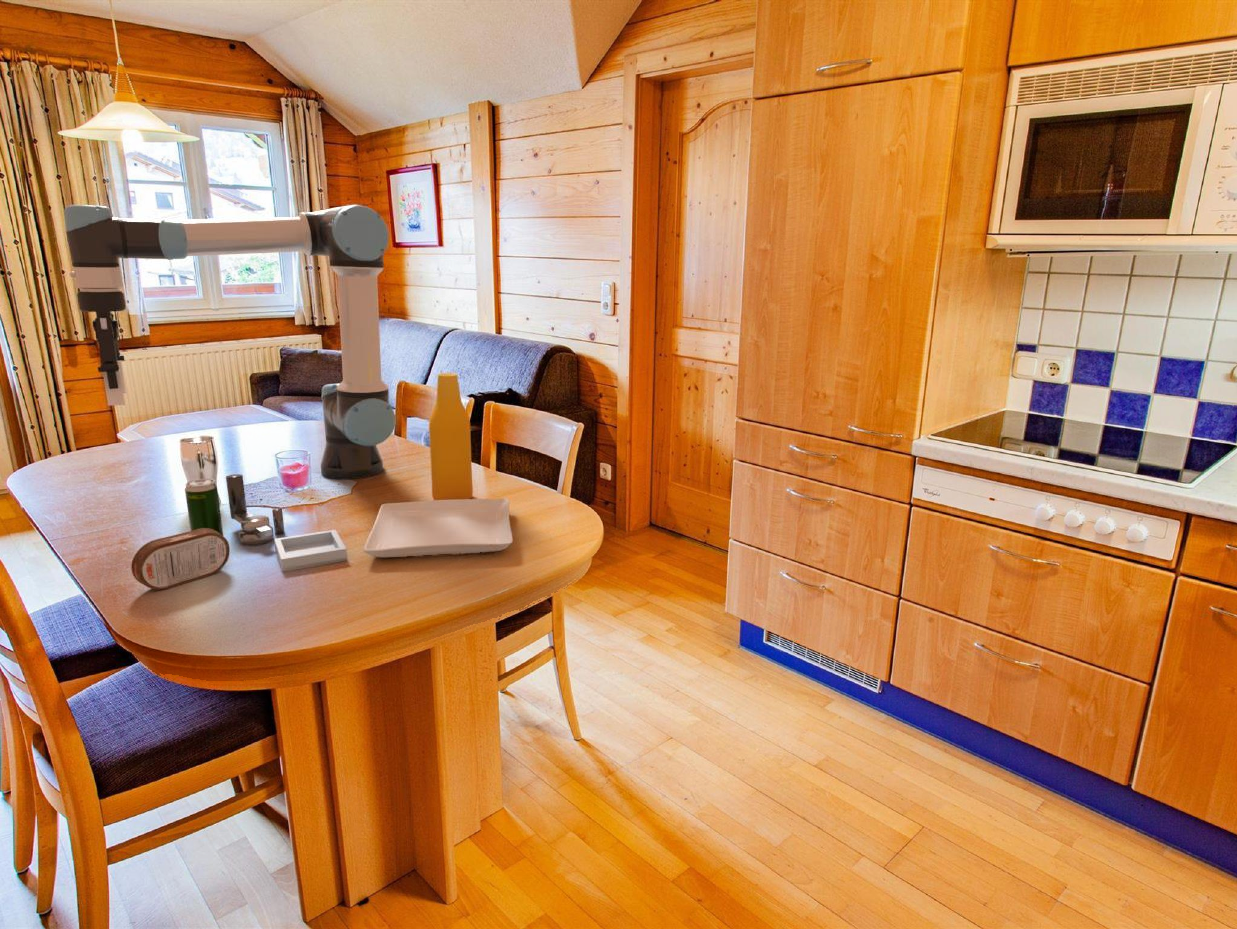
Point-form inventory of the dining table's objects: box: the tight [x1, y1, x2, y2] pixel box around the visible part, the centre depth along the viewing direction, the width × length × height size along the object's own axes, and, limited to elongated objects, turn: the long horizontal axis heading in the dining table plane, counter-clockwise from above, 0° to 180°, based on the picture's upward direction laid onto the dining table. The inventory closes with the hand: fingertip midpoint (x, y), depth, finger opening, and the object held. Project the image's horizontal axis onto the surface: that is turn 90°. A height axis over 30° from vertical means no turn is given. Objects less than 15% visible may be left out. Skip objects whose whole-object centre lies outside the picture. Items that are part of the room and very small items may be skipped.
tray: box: [273, 529, 348, 573], centre depth 140 cm, size 11×11×2 cm
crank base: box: [238, 507, 285, 547], centre depth 144 cm, size 19×6×5 cm, turn 120°
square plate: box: [363, 497, 514, 558], centre depth 151 cm, size 27×27×4 cm
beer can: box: [184, 479, 224, 537], centre depth 144 cm, size 5×5×12 cm
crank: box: [225, 473, 272, 537], centre depth 147 cm, size 16×5×9 cm, turn 45°
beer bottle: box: [428, 372, 474, 501], centre depth 170 cm, size 9×9×29 cm
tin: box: [130, 528, 231, 591], centre depth 127 cm, size 15×3×8 cm, turn 142°
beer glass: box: [179, 435, 222, 505], centre depth 164 cm, size 7×7×15 cm
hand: (117, 399), depth 150 cm, fingers open, 13 cm apart
